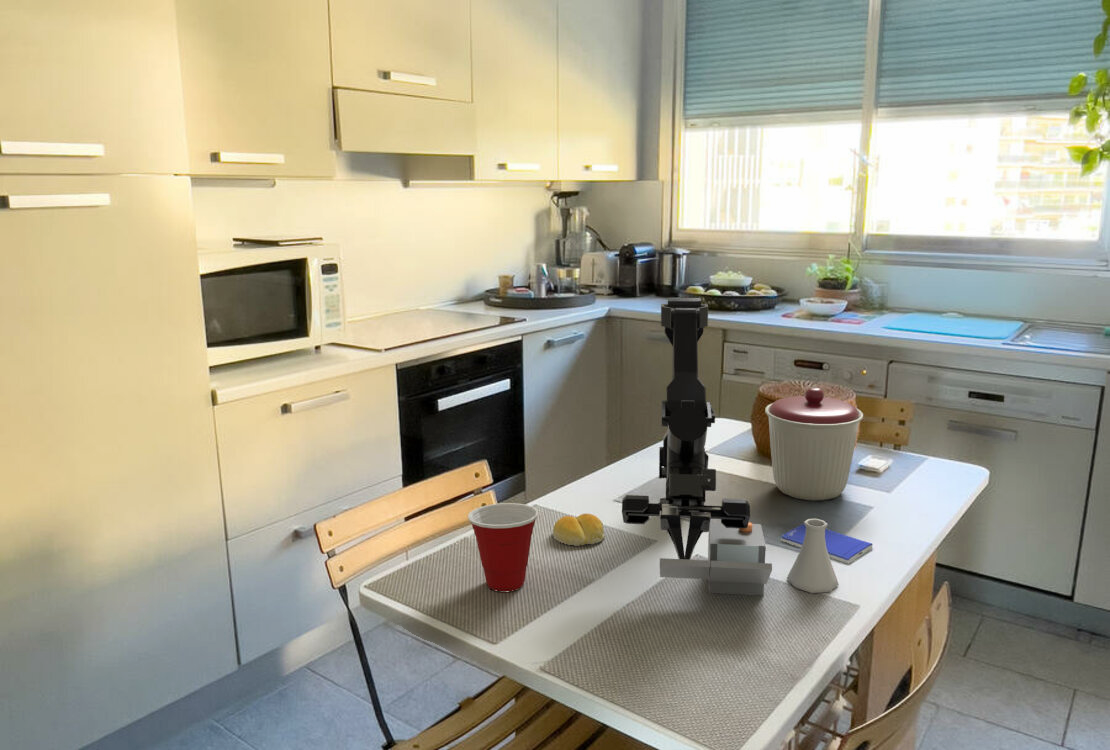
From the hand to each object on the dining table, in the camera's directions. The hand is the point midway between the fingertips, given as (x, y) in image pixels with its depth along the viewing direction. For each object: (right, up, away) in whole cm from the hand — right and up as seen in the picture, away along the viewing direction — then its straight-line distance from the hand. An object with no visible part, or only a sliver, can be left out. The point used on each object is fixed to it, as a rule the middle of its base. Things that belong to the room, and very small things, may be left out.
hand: (684, 567), depth 123 cm
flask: (+21, -4, +7) cm, 22 cm away
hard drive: (+27, -1, +20) cm, 34 cm away
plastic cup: (-27, -5, +9) cm, 28 cm away
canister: (+31, +5, +44) cm, 54 cm away
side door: (+5, -2, +2) cm, 6 cm away
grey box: (+9, -4, +8) cm, 12 cm away
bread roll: (-14, -1, +25) cm, 29 cm away
